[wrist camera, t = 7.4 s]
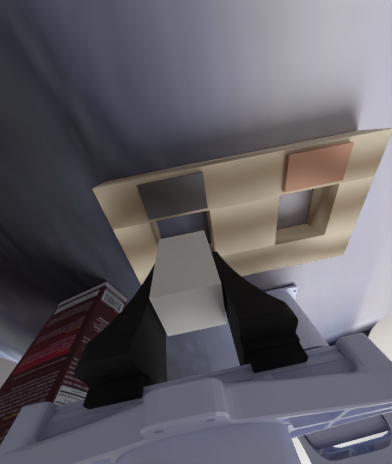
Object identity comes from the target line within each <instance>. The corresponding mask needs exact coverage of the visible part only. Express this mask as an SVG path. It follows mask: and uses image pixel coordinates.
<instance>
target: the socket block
mask: <svg viewBox="0 0 392 464" xmlns="http://www.w3.org/2000/svg"><path fill="white" fill-rule="evenodd" d="M391 133H392V128H387V129H372V130H358V131H353V132H348V133H343V134H338V135H333V136H328V137H323V138H318V139H313V140H308V141H303V142H298V143H293V144H288V145H283V146H278V147H273V148H268V149H263V150H258V151H253V152H248V153H243V154H238V155H233V156H228V157H223V158H218V159H213V160H208V161H204V162H199V163H194V164H189V165H184V166H179V167H174V168H169V169H164V170H159V171H154V172H149V173H144V174H139V175H134V176H129V177H124V178H119V179H114V180H109V181H105V182H103V183H102V184H100V185H98V186H96V187H94V188H93V189H92V190H93V192H94V193H95V195H96V197H97V199H98V201H99V203H100V205H101V207H102V209H103V211H104V213H105V215H106V217H107V219H108V221H109V223H110V225H111V227H112V229H113V231H114V233H115V235H116V237H117V238H118V240H119V242H120V244H121V246H122V248H123V250H124V252H125V254H126V256H127V258H128V260H129V262H130V264H131V266H132V268H133V270H134V272H135V274H136V276H137V278H138V280H139V282H140V284H141V285H142V284H143V282H144V281H145V279H146V278H147V276H148V274H149V272H150V271H151V269H152V267H153V265H154V264H155V261H156V255H157V249H158V243H159V239H162V237H161V234H160V231H159V228H158V225H157V222H156V221H158V220H163V219H168V218H173V217H178V216H183V215H188V214H193V213H197V212H202V211H206V212H207V219H208V226H209V232H210V239H211V243H209V247H210V250H211V252H214V251H217V252H218V253H219V255H220V256H221V257H222V258H223V260H224V261H225V262H226V263H227V264H228V265H229V266H230V267H231V268H232V269H233V270H234V271H235V272H237V273H238V274H239V275H240V276H246V275H251V274H255V273H260V272H265V271H270V270H274V269H279V268H284V267H289V266H293V265H298V264H303V263H308V262H312V261H317V260H322V259H327V258H332V257H336V256H341V255H343V254H344V252H345V249H346V247H347V244H348V242H349V239H350V237H351V234H352V232H353V229H354V226H355V224H356V221H357V219H358V216H359V214H360V211H361V209H362V206H363V204H364V201H365V199H366V196H367V194H368V191H369V189H370V186H371V184H372V181H373V179H374V176H375V173H376V171H377V168H378V166H379V163H380V161H381V158H382V156H383V153H384V151H385V148H386V146H387V143H388V141H389V138H390V136H391ZM310 189H314V190H313V194H312V199H311V204H310V208H309V213H308V218H307V222H306V224H301V225H296V226H291V227H286V228H281V229H277V219H278V210H279V201H280V196H281V195H285V194H290V193H295V192H300V191H305V190H310ZM276 229H277V230H276Z"/></svg>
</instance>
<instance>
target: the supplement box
mask: <svg viewBox="0 0 392 464" xmlns="http://www.w3.org/2000/svg"><path fill="white" fill-rule="evenodd" d="M126 302H127V298H126V297H125V296H124V295H123V294H121V293H120V292H119V291H118V290H117V289H116V288H115V287H113V286H112V285H111V284H110V283H109V282H104V283H102V284H100V285H98V286H96V287H94V288H91V289H89V290H87V291H85V292H83V293H80V294H78V295H76V296H74V297H72V298H69V299H67V300H65V301H63V302H61V303H60V304H59V305H58V307H57V308H56V310H55V311H54V312H53V314H52V315H51V317H50V318H49V320H48V321H47V323H46V324H45V325H44V327H43V328H42V330H41V331H40V333H39V334H38V336H37V337H36V338H35V340H34V341H33V343H32V344H31V346H30V347H29V349H28V350H27V351H26V353H25V354H24V356H23V357H22V358H21V360H20V361H19V363H18V365H17V366H16V367H15V368H14V370H13V371H12V373H11V374H10V376H9V377H8V379H7V380H6V381H5V383H4V384H3V386H2V387H1V389H0V445H1V444H2V442H3V440H4V439H5V437H6V435H7V433H8V432H9V430H10V428H11V426H12V425H13V423H14V421H15V419H16V418H17V416H18V414H19V413H20V411H21V409H22V407H24V406H27V405H31V404H36V403H40V402H51V403H54V404H55V405H56V406H59V405H63V404H68V403H72V402H77V401H82V400H85V398H86V395H87V392H88V389H89V386H87V385H86V384H84V383H83V382H81V381H80V380H78V379H77V378H76V377H75V375H74V370H75V367H76V365H77V363H78V360H79V358H80V356H81V354H82V351H83V349H84V347H85V345H86V344H87V343H88V342H89V341H90V340H91V339H93V338H94V337H95V336H96V335H97V334H98V333H100V332H101V331H102V330H103V329H104V328H105V327H106V326H107V325H108V324H110V323H111V322H112V321H113V320H114V319H115V318H116V317H117V316H118V314H119V313H120V312H121V311H122V310H123V309H124V308H125V305H126Z"/></svg>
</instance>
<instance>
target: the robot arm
mask: <svg viewBox="0 0 392 464" xmlns="http://www.w3.org/2000/svg"><path fill="white" fill-rule="evenodd" d="M211 253H212V256H213V259H214V262H215V265H216V269H217V272H218V275H219V278H220V281H221V285H222V293H223V301H224V308H225V311H226V314H227V318H228V322H229V325H230V329H231V333H232V337H233V340H234V344H235V348H236V352H237V356H238V359H239V363H240V366H238V367H233V368H229V369H224V370H220V371H215V372H210V373H206V374H201V375H197V376H192V377H187V378H183V379H178V380H174V381H169V382H167V366H166V331H165V329H164V327H163V325H162V323H161V321H160V319H159V317H158V315H157V313H156V311H155V309H154V307H153V305H152V303H151V301H150V299H149V296H150V290H151V285H152V279H153V273H154V267H155V264H154V265H153V267H152V269H151V271H150V272H149V274H148V276H147V278H146V279H145V281H144V282H143V284H142V286H141V287H140V289H139V290H138V291H137V293H136V294H135V296H134V297H133V298H132V300H131V301H130V302H129V303H128V305H127V306H126V307H125V308H124V309H123V310H122V311H121V312H120V313H119V314H118V316H117V317H116V318H115V319H114V320H113V321H112V322H111V323H110V324H108V325H107V326H106V327H105V328H104V329H103V330H102V331H101V332H100V333H98V334H97V335H96V336H95V337H94V338H93V339H91V340H90V341H89V342H88V343H87V344H86V345H85V347H84V349H83V351H82V354H81V356H80V358H79V360H78V363H77V365H76V367H75V370H74V375H75V377H76V378H77V379H78V380H80V381H81V382H83V383H84V384H86V385H87V386H89V389H88V392H87V395H86V398H85V400H82V401H77V402H72V403H68V404H63V405H59V406H56V405H55V404H54V403H51V402H40V403H36V404H31V405H27V406H24V407H22V409H21V411H20V413H19V414H18V416H17V418H16V419H15V421H14V423H13V425H12V426H11V428H10V430H9V432H8V433H7V435H6V437H5V439H4V440H3V442H2V444H1V445H0V464H301V462H300V460H299V457H298V455H297V453H296V450H295V447H294V445H293V442H292V439H291V438H294V437H297V438H298V439H299V440H300V442H301V444H302V446H303V448H304V449H305V451H306V453H307V455H308V457H309V459H310V461H311V463H312V464H392V362H391V361H390V360H389V359H388V358H387V357H386V356H385V355H384V354H383V352H382V351H380V349H379V348H378V347H377V346H376V345H374V343H373V342H372V341H371V340H370V339H369V338H368V337H367V336H366V335H365V334H363V333H359V334H354V335H349V336H345V337H342V338H340V339H339V340H338V341H337V342H336V345H335V346H329V345H328V344H327V342H326V341H325V340H324V338H323V337H322V336H321V334H320V333H319V332H318V330H317V329H316V328H315V326H314V325H313V324H312V322H311V321H310V320H309V318H308V317H307V316H306V314H305V313H304V312H303V310H302V309H301V308H300V307H299V305H298V304H297V303H296V301H295V298H296V293H297V289H298V287H297V286H296V285H293V286H288V287H284V288H279V289H274V290H270V291H265V292H264V291H262V290H260V289H259V288H257V287H256V286H254V285H252V284H251V283H249V282H248V281H247V280H245V279H244V278H243V277H241V276H240V275H239V274H238V273H237V272H235V271H234V270H233V269H232V268H231V267H230V266H229V265H228V264H227V263H226V262H225V261H224V260H223V258H222V257H221V256H220V255H219V253H218V252H217V251H214V252H211ZM385 431H388V433H387V434H385V435H384V436H382V437H379V438H375V439H372V440H368V441H365V442H360V443H357V444H353V445H350V446H346V447H342V448H336V447H333V446H334V445H338V444H341V443H345V442H348V441H352V440H356V439H359V438H363V437H367V436H370V435H374V434H377V433H381V432H385Z"/></svg>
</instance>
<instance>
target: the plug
mask: <svg viewBox="0 0 392 464" xmlns="http://www.w3.org/2000/svg"><path fill="white" fill-rule="evenodd" d="M149 299H150V301H151V303H152V305H153V307H154V309H155V311H156V313H157V315H158V317H159V319H160V321H161V323H162V325H163V327H164V329H165V331H166V333H167V335H168V336H172V335H176V334H181V333H186V332H190V331H195V330H200V329H205V328H209V327H214V326H219V325H223V324H226V317H225V309H224V301H223V293H222V285H221V281H220V278H219V275H218V272H217V269H216V265H215V262H214V259H213V256H212V253H211V250H210V247H209V244H208V241H207V238H206V235H205V231H204V230H203V231H198V232H193V233H188V234H183V235H178V236H173V237H168V238H164V239H159V243H158V249H157V255H156V261H155V267H154V273H153V279H152V285H151V290H150V296H149Z"/></svg>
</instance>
